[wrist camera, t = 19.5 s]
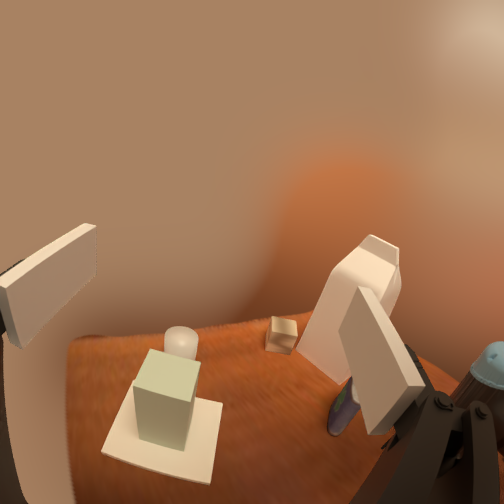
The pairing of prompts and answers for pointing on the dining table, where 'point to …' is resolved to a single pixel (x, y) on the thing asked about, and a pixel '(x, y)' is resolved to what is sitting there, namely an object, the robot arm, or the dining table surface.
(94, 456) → the dining table surface
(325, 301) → the milk
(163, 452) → the white tile
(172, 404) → the sage block
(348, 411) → the flask
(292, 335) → the maple cube
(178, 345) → the white cylinder
